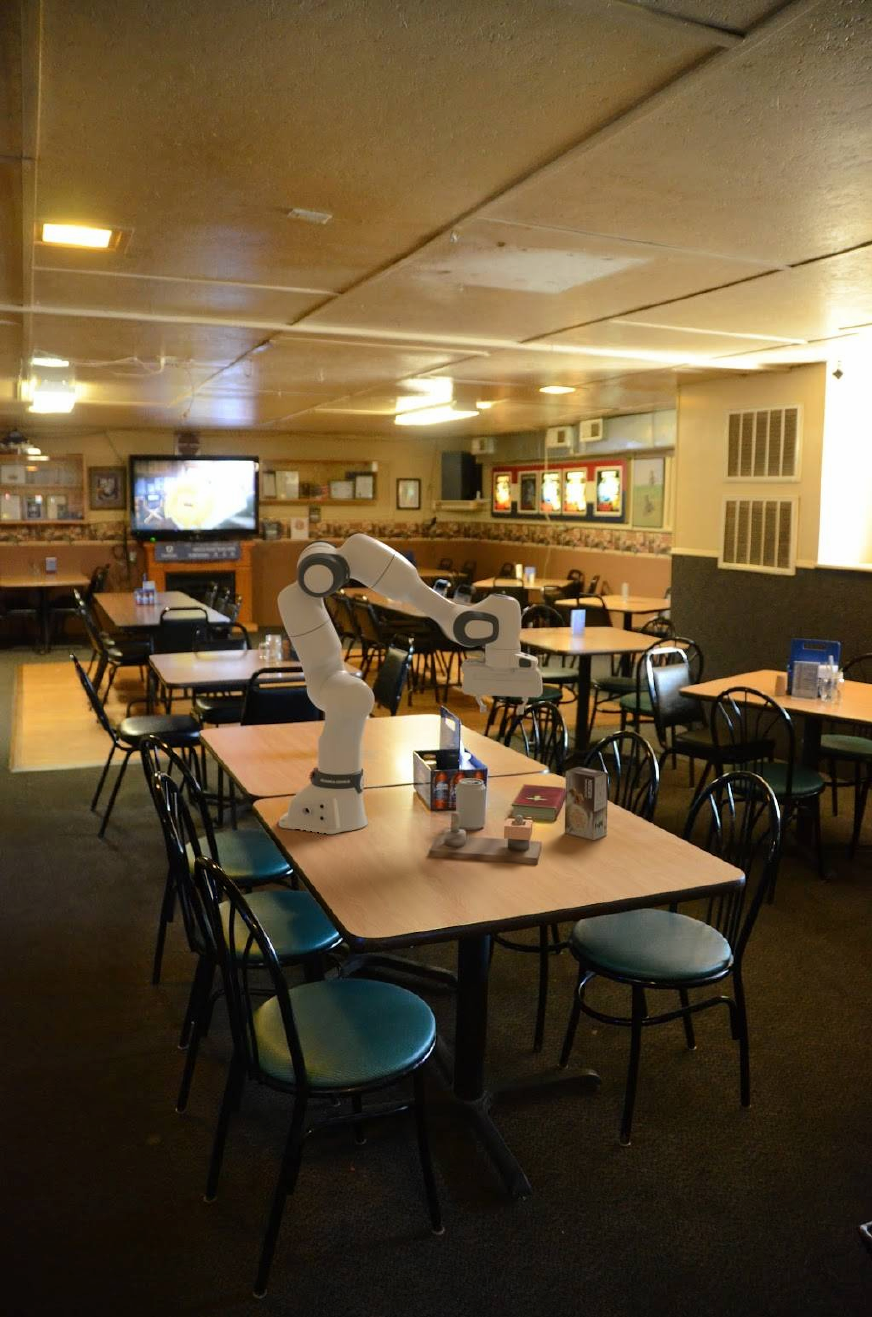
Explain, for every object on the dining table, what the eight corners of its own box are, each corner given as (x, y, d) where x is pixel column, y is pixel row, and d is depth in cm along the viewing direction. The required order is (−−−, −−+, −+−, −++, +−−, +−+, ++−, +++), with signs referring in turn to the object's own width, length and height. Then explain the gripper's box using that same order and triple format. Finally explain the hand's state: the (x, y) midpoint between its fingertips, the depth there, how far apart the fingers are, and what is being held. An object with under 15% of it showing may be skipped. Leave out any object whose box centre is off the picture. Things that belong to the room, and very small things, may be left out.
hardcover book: (565, 801, 282) (566, 786, 282) (556, 822, 262) (557, 807, 261) (523, 797, 285) (523, 783, 284) (511, 818, 265) (511, 803, 264)
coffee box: (608, 835, 250) (610, 772, 248) (593, 841, 246) (595, 777, 244) (577, 827, 257) (579, 765, 254) (562, 832, 252) (564, 770, 250)
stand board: (429, 856, 233) (429, 817, 232) (438, 840, 245) (438, 802, 243) (537, 864, 229) (538, 824, 227) (541, 847, 240) (542, 809, 239)
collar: (503, 838, 232) (504, 826, 232) (506, 830, 238) (507, 818, 238) (529, 840, 231) (530, 827, 231) (532, 832, 237) (532, 820, 237)
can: (482, 832, 252) (483, 785, 250) (453, 829, 253) (454, 783, 252) (487, 823, 259) (488, 777, 257) (458, 821, 261) (459, 776, 259)
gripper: (459, 659, 251) (459, 713, 253) (542, 662, 247) (540, 717, 249) (463, 655, 257) (462, 709, 259) (543, 658, 253) (542, 712, 255)
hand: (501, 713), depth 254 cm, fingers open, 8 cm apart
